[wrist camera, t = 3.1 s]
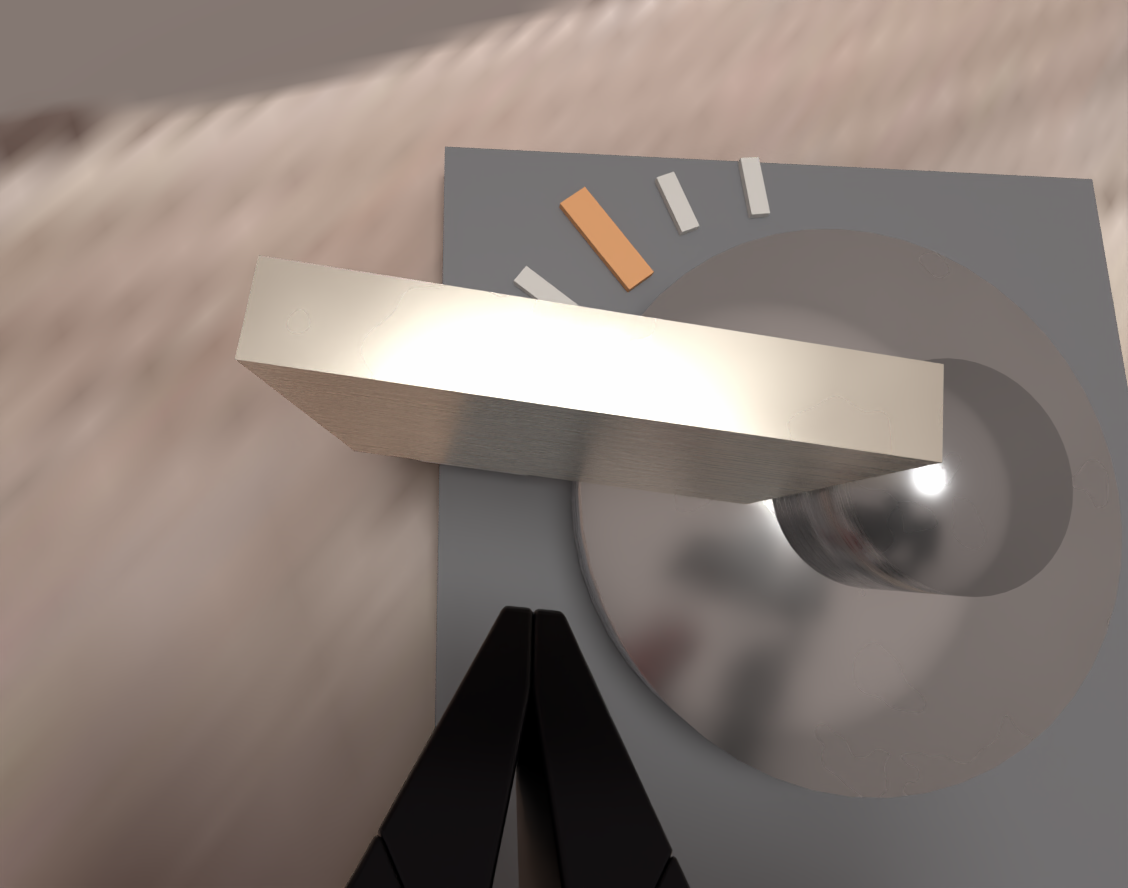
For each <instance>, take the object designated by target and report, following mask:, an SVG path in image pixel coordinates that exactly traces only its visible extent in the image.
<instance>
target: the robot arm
mask: <svg viewBox="0 0 1128 888" xmlns="http://www.w3.org/2000/svg"><path fill="white" fill-rule="evenodd" d="M515 771H516V808H517V842H518V875H519V888H690V886H689V884H688V881H687V879H686V877H685V875H684V873H683V870H682V868H681V866H680V864H679V862H678V860H677V858H676V857H675V856H672V857H671V855H672V853H673V850H672V847H671V845H670V843H669V841H668V838H667V836H666V834H665V832H664V830H663V828H662V825H661V823H660V821H659V819H658V817H657V814H656V812H655V810H654V808H653V806H652V804H651V801H650V799H649V797H648V795H647V793H646V790H645V788H644V786H643V784H642V782H641V780H640V777H639V775H638V773H637V771H636V769H635V767H634V764H633V762H632V760H631V758H630V756H629V753H628V751H627V749H626V747H625V745H624V743H623V740H622V738H621V736H620V734H619V732H618V729H617V727H616V725H615V723H614V721H613V719H612V716H611V714H610V712H609V710H608V708H607V706H606V703H605V701H604V699H603V697H602V695H601V692H600V690H599V688H598V686H597V684H596V682H595V679H594V677H593V675H592V673H591V671H590V668H589V666H588V664H587V662H586V660H585V658H584V655H583V653H582V651H581V649H580V647H579V645H578V642H577V640H576V638H575V636H574V634H573V631H572V629H571V627H570V625H569V623H568V621H567V618H566V617H565V615H564V614H563V613H562V612H561V611H556V610H546V609H536V610H535V611H534V612H532V610H531V609H530V608H527V607H517V606H505V607H504V608H503V609H502V610H501V611H500V613H499V615H498V617H497V618H496V620H495V622H494V624H493V626H492V627H491V629H490V631H489V633H488V635H487V636H486V638H485V640H484V642H483V644H482V645H481V647H480V649H479V651H478V653H477V654H476V656H475V658H474V660H473V661H472V663H471V665H470V667H469V669H468V670H467V672H466V674H465V676H464V678H463V679H462V681H461V683H460V685H459V687H458V688H457V690H456V692H455V694H454V695H453V697H452V699H451V701H450V703H449V704H448V706H447V708H446V710H445V712H444V713H443V715H442V717H441V719H440V721H439V722H438V724H437V726H436V728H435V729H434V731H433V733H432V735H431V737H430V738H429V740H428V742H427V744H426V746H425V747H424V749H423V751H422V753H421V755H420V756H419V758H418V760H417V762H416V763H415V765H414V767H413V769H412V771H411V772H410V774H409V776H408V778H407V780H406V781H405V783H404V785H403V787H402V789H401V790H400V792H399V794H398V796H397V797H396V799H395V801H394V803H393V805H392V806H391V808H390V810H389V812H388V814H387V815H386V817H385V819H384V821H383V823H382V824H381V826H380V828H379V830H378V835H377V836H375V837H374V838H373V840H372V841H371V843H370V845H369V847H368V849H367V850H366V852H365V854H364V856H363V858H362V859H361V861H360V863H359V865H358V866H357V868H356V870H355V872H354V873H353V875H352V877H351V878H350V880H349V882H348V883H347V885H346V887H345V888H492V887H493V882H494V877H495V872H496V867H497V862H498V857H499V852H500V847H501V841H502V836H503V831H504V826H505V821H506V816H507V811H508V806H509V801H510V796H511V791H512V786H513V781H514V776H515ZM670 857H671V858H670Z"/></svg>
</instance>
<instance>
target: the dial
mask: <svg viewBox="0 0 1128 888" xmlns="http://www.w3.org/2000/svg"><path fill="white" fill-rule="evenodd" d="M235 360H237V361H238V362H239V363H241V364H242V365H243V366H244V367H246V368H247V369H248V370H250V371H251V372H252V373H254V374H255V375H256V376H257V377H259V378H260V379H261V380H263V381H264V382H265V383H267V384H268V385H269V386H270V387H272V388H273V389H274V390H276V391H277V392H278V393H280V394H281V395H282V396H284V397H285V398H286V399H287V400H289V401H290V402H291V403H293V404H294V405H295V406H297V407H298V408H299V409H300V410H302V411H303V412H304V413H306V414H307V415H308V416H310V417H311V418H312V419H313V420H315V421H316V422H317V423H319V424H320V425H321V426H323V427H324V428H325V429H326V430H328V431H329V432H330V433H332V434H333V435H334V436H336V437H337V438H338V439H339V440H341V441H342V442H343V443H345V444H346V445H347V446H349V447H350V448H351V449H352V450H354V451H358V452H366V453H373V454H380V455H388V456H395V457H402V458H410V459H417V460H424V461H432V462H439V463H446V464H454V465H461V466H468V467H475V468H483V469H490V470H497V471H505V472H512V473H519V474H527V475H534V476H541V477H549V478H556V479H563V480H571V481H572V485H571V510H572V523H573V535H574V539H575V544H576V549H577V554H578V559H579V564H580V568H581V571H582V574H583V577H584V580H585V583H586V586H587V589H588V592H589V595H590V597H591V600H592V603H593V605H594V607H595V609H596V611H597V613H598V615H599V617H600V619H601V621H602V623H603V625H604V627H605V629H606V631H607V633H608V635H609V636H610V638H611V639H612V641H613V642H614V644H615V645H616V647H617V648H618V650H619V651H620V653H621V654H622V656H623V657H624V659H625V660H626V662H627V663H628V665H629V666H630V667H631V668H632V669H633V671H634V672H635V673H636V674H637V675H638V676H639V677H640V679H641V680H642V681H643V682H644V683H645V684H646V685H647V687H648V688H649V689H650V690H651V691H652V692H653V693H654V694H655V695H656V696H657V697H659V698H660V699H661V700H662V701H663V702H664V703H665V704H666V705H668V706H669V707H670V708H671V709H672V710H673V711H674V712H675V713H677V714H678V715H679V716H680V717H681V718H682V719H684V720H685V721H686V722H687V723H688V724H689V725H691V726H692V727H693V728H694V729H695V730H696V731H698V732H699V733H700V734H701V735H702V736H704V737H705V738H706V739H708V740H709V741H711V742H712V743H714V744H715V745H717V746H718V747H720V748H721V749H723V750H724V751H726V752H727V753H729V754H730V755H732V756H733V757H735V758H736V759H737V760H739V761H741V762H743V763H745V764H747V765H749V766H751V767H753V768H755V769H758V770H760V771H762V772H764V773H766V774H768V775H770V776H772V777H774V778H777V779H780V780H783V781H786V782H789V783H792V784H795V785H798V786H801V787H804V788H807V789H810V790H814V791H820V792H826V793H831V794H837V795H843V796H848V797H875V798H892V797H900V796H908V795H916V794H924V793H928V792H932V791H935V790H939V789H942V788H946V787H950V786H953V785H957V784H960V783H963V782H965V781H967V780H969V779H971V778H974V777H976V776H978V775H980V774H982V773H985V772H987V771H989V770H991V769H993V768H995V767H997V766H998V765H1000V764H1001V763H1003V762H1004V761H1006V760H1007V759H1009V758H1010V757H1012V756H1013V755H1015V754H1016V753H1018V752H1019V751H1021V750H1022V749H1024V748H1025V747H1026V746H1027V745H1029V744H1030V743H1031V742H1032V741H1033V740H1034V739H1035V738H1036V737H1037V736H1039V735H1040V734H1041V733H1042V732H1043V731H1044V730H1045V729H1046V728H1047V727H1049V726H1050V725H1051V724H1052V722H1053V721H1054V720H1055V719H1056V718H1057V716H1058V715H1059V714H1060V713H1061V712H1062V710H1063V709H1064V708H1065V707H1066V705H1067V704H1068V703H1069V702H1070V701H1071V699H1072V698H1073V697H1074V695H1075V694H1076V692H1077V690H1078V689H1079V687H1080V686H1081V684H1082V682H1083V681H1084V679H1085V677H1086V676H1087V674H1088V672H1089V671H1090V669H1091V667H1092V666H1093V663H1094V661H1095V659H1096V656H1097V654H1098V652H1099V649H1100V647H1101V645H1102V642H1103V640H1104V638H1105V635H1106V633H1107V629H1108V626H1109V622H1110V619H1111V615H1112V612H1113V608H1114V604H1115V601H1116V595H1117V589H1118V582H1119V575H1120V568H1121V548H1122V524H1121V513H1120V503H1119V493H1118V488H1117V483H1116V479H1115V474H1114V469H1113V465H1112V460H1111V456H1110V453H1109V450H1108V447H1107V444H1106V442H1105V439H1104V436H1103V433H1102V430H1101V427H1100V424H1099V422H1098V419H1097V417H1096V415H1095V413H1094V411H1093V409H1092V407H1091V404H1090V402H1089V400H1088V398H1087V396H1086V394H1085V392H1084V390H1083V388H1082V387H1081V385H1080V383H1079V382H1078V380H1077V378H1076V377H1075V375H1074V373H1073V372H1072V370H1071V369H1070V367H1069V365H1068V364H1067V362H1066V361H1065V359H1064V358H1063V357H1062V355H1061V354H1060V353H1059V351H1058V350H1057V349H1056V348H1055V346H1054V345H1053V344H1052V342H1051V341H1050V340H1049V338H1048V337H1047V336H1046V335H1045V333H1044V332H1043V331H1042V330H1041V329H1040V328H1039V327H1038V326H1037V325H1036V324H1035V323H1034V322H1033V321H1032V320H1031V319H1030V318H1029V317H1028V316H1027V314H1026V313H1025V312H1024V311H1023V310H1022V309H1021V308H1020V307H1018V306H1017V305H1016V304H1015V303H1014V302H1012V301H1011V300H1010V299H1009V298H1008V297H1006V296H1005V295H1004V294H1003V293H1002V292H1000V291H999V290H998V289H997V288H996V287H994V286H993V285H992V284H990V283H989V282H987V281H985V280H984V279H982V278H981V277H979V276H978V275H976V274H975V273H973V272H972V271H970V270H969V269H967V268H966V267H964V266H962V265H960V264H958V263H956V262H954V261H952V260H950V259H948V258H946V257H944V256H942V255H940V254H938V253H936V252H934V251H931V250H929V249H926V248H923V247H921V246H918V245H915V244H912V243H910V242H907V241H904V240H900V239H896V238H892V237H888V236H884V235H879V234H875V233H870V232H861V231H852V230H843V229H812V230H800V231H794V232H787V233H780V234H774V235H770V236H767V237H763V238H760V239H756V240H753V241H749V242H746V243H743V244H740V245H738V246H736V247H734V248H731V249H729V250H727V251H725V252H722V253H720V254H718V255H716V256H713V257H712V258H710V259H708V260H707V261H705V262H704V263H702V264H700V265H699V266H697V267H695V268H694V269H692V270H691V271H689V272H687V273H686V274H684V275H683V276H682V277H681V278H680V279H678V280H677V281H676V282H675V283H674V284H672V285H671V286H670V287H669V288H668V289H666V290H665V291H664V292H663V293H662V294H660V295H659V296H658V297H657V299H656V300H655V301H654V302H653V303H652V304H651V305H650V306H649V307H648V309H647V310H646V311H645V312H644V313H643V314H642V315H641V316H638V315H632V314H625V313H619V312H613V311H606V310H600V309H594V308H588V307H581V306H575V305H569V304H562V303H556V302H550V301H544V300H537V299H531V298H525V297H518V296H512V295H506V294H500V293H493V292H487V291H481V290H474V289H468V288H462V287H456V286H449V285H443V284H437V283H430V282H424V281H418V280H411V279H405V278H399V277H393V276H386V275H380V274H374V273H367V272H361V271H355V270H349V269H342V268H336V267H330V266H323V265H317V264H311V263H305V262H298V261H292V260H286V259H279V258H273V257H267V256H261V255H259V256H258V260H257V265H256V269H255V274H254V278H253V282H252V287H251V291H250V295H249V300H248V304H247V309H246V313H245V317H244V322H243V326H242V331H241V335H240V339H239V344H238V348H237V353H236V357H235Z"/></svg>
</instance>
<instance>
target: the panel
mask: <svg viewBox="0 0 1128 888" xmlns="http://www.w3.org/2000/svg"><path fill="white" fill-rule="evenodd" d="M812 229H843V230H852V231H861V232H870V233H875V234H879V235H884V236H888V237H892V238H896V239H900V240H904V241H907V242H910V243H912V244H915V245H918V246H921V247H923V248H926V249H929V250H931V251H934V252H936V253H938V254H940V255H942V256H944V257H946V258H948V259H950V260H952V261H954V262H956V263H958V264H960V265H962V266H964V267H966V268H967V269H969V270H970V271H972V272H973V273H975V274H976V275H978V276H979V277H981V278H982V279H984V280H985V281H987V282H989V283H990V284H992V285H993V286H994V287H996V288H997V289H998V290H999V291H1000V292H1002V293H1003V294H1004V295H1005V296H1006V297H1008V298H1009V299H1010V300H1011V301H1012V302H1014V303H1015V304H1016V305H1017V306H1018V307H1020V308H1021V309H1022V310H1023V311H1024V312H1025V313H1026V314H1027V316H1028V317H1029V318H1030V319H1031V320H1032V321H1033V322H1034V323H1035V324H1036V325H1037V326H1038V327H1039V328H1040V329H1041V330H1042V331H1043V332H1044V333H1045V335H1046V336H1047V337H1048V338H1049V340H1050V341H1051V342H1052V344H1053V345H1054V346H1055V348H1056V349H1057V350H1058V351H1059V353H1060V354H1061V355H1062V357H1063V358H1064V359H1065V361H1066V362H1067V364H1068V365H1069V367H1070V369H1071V370H1072V372H1073V373H1074V375H1075V377H1076V378H1077V380H1078V382H1079V383H1080V385H1081V387H1082V388H1083V390H1084V392H1085V394H1086V396H1087V398H1088V400H1089V402H1090V404H1091V407H1092V409H1093V411H1094V413H1095V415H1096V417H1097V419H1098V422H1099V424H1100V427H1101V430H1102V433H1103V436H1104V439H1105V442H1106V444H1107V447H1108V450H1109V453H1110V456H1111V460H1112V465H1113V469H1114V474H1115V479H1116V483H1117V488H1118V493H1119V503H1120V513H1121V524H1122V548H1121V568H1120V575H1119V582H1118V589H1117V595H1116V601H1115V604H1114V608H1113V612H1112V615H1111V619H1110V622H1109V626H1108V629H1107V633H1106V635H1105V638H1104V640H1103V642H1102V645H1101V647H1100V649H1099V652H1098V654H1097V656H1096V659H1095V661H1094V663H1093V666H1092V667H1091V669H1090V671H1089V672H1088V674H1087V676H1086V677H1085V679H1084V681H1083V682H1082V684H1081V686H1080V687H1079V689H1078V690H1077V692H1076V694H1075V695H1074V697H1073V698H1072V699H1071V701H1070V702H1069V703H1068V704H1067V705H1066V707H1065V708H1064V709H1063V710H1062V712H1061V713H1060V714H1059V715H1058V716H1057V718H1056V719H1055V720H1054V721H1053V722H1052V724H1051V725H1050V726H1049V727H1047V728H1046V729H1045V730H1044V731H1043V732H1042V733H1041V734H1040V735H1039V736H1037V737H1036V738H1035V739H1034V740H1033V741H1032V742H1031V743H1030V744H1029V745H1027V746H1026V747H1025V748H1024V749H1022V750H1021V751H1019V752H1018V753H1016V754H1015V755H1013V756H1012V757H1010V758H1009V759H1007V760H1006V761H1004V762H1003V763H1001V764H1000V765H998V766H997V767H995V768H993V769H991V770H989V771H987V772H985V773H982V774H980V775H978V776H976V777H974V778H971V779H969V780H967V781H965V782H963V783H960V784H957V785H953V786H950V787H946V788H942V789H939V790H935V791H932V792H928V793H924V794H916V795H908V796H900V797H892V798H875V797H848V796H843V795H837V794H831V793H826V792H820V791H814V790H810V789H807V788H804V787H801V786H798V785H795V784H792V783H789V782H786V781H783V780H780V779H777V778H774V777H772V776H770V775H768V774H766V773H764V772H762V771H760V770H758V769H755V768H753V767H751V766H749V765H747V764H745V763H743V762H741V761H739V760H737V759H736V758H735V757H733V756H732V755H730V754H729V753H727V752H726V751H724V750H723V749H721V748H720V747H718V746H717V745H715V744H714V743H712V742H711V741H709V740H708V739H706V738H705V737H704V736H702V735H701V734H700V733H699V732H698V731H696V730H695V729H694V728H693V727H692V726H691V725H689V724H688V723H687V722H686V721H685V720H684V719H682V718H681V717H680V716H679V715H678V714H677V713H675V712H674V711H673V710H672V709H671V708H670V707H669V706H668V705H666V704H665V703H664V702H663V701H662V700H661V699H660V698H659V697H657V696H656V695H655V694H654V693H653V692H652V691H651V690H650V689H649V688H648V687H647V685H646V684H645V683H644V682H643V681H642V680H641V679H640V677H639V676H638V675H637V674H636V673H635V672H634V671H633V669H632V668H631V667H630V666H629V665H628V663H627V662H626V660H625V659H624V657H623V656H622V654H621V653H620V651H619V650H618V648H617V647H616V645H615V644H614V642H613V641H612V639H611V638H610V636H609V635H608V633H607V631H606V629H605V627H604V625H603V623H602V621H601V619H600V617H599V615H598V613H597V611H596V609H595V607H594V605H593V603H592V600H591V597H590V595H589V592H588V589H587V586H586V583H585V580H584V577H583V574H582V571H581V568H580V564H579V559H578V554H577V549H576V544H575V539H574V535H573V523H572V510H571V485H572V481H571V480H563V479H556V478H549V477H541V476H534V475H527V474H519V473H512V472H505V471H497V470H490V469H483V468H475V467H468V466H461V465H454V464H446V463H439V462H432V461H424V460H419V461H423V462H430V463H437V464H440V469H439V527H438V585H437V644H436V702H435V728H436V726H437V724H438V722H439V721H440V719H441V717H442V715H443V713H444V712H445V710H446V708H447V706H448V704H449V703H450V701H451V699H452V697H453V695H454V694H455V692H456V690H457V688H458V687H459V685H460V683H461V681H462V679H463V678H464V676H465V674H466V672H467V670H468V669H469V667H470V665H471V663H472V661H473V660H474V658H475V656H476V654H477V653H478V651H479V649H480V647H481V645H482V644H483V642H484V640H485V638H486V636H487V635H488V633H489V631H490V629H491V627H492V626H493V624H494V622H495V620H496V618H497V617H498V615H499V613H500V611H501V610H502V609H503V608H504V607H505V606H517V607H527V608H530V609H531V610H532V612H534V611H535V610H536V609H546V610H556V611H561V612H562V613H563V614H564V615H565V617H566V618H567V621H568V623H569V625H570V627H571V629H572V631H573V634H574V636H575V638H576V640H577V642H578V645H579V647H580V649H581V651H582V653H583V655H584V658H585V660H586V662H587V664H588V666H589V668H590V671H591V673H592V675H593V677H594V679H595V682H596V684H597V686H598V688H599V690H600V692H601V695H602V697H603V699H604V701H605V703H606V706H607V708H608V710H609V712H610V714H611V716H612V719H613V721H614V723H615V725H616V727H617V729H618V732H619V734H620V736H621V738H622V740H623V743H624V745H625V747H626V749H627V751H628V753H629V756H630V758H631V760H632V762H633V764H634V767H635V769H636V771H637V773H638V775H639V777H640V780H641V782H642V784H643V786H644V788H645V790H646V793H647V795H648V797H649V799H650V801H651V804H652V806H653V808H654V810H655V812H656V814H657V817H658V819H659V821H660V823H661V825H662V828H663V830H664V832H665V834H666V836H667V838H668V841H669V843H670V845H671V847H672V850H673V853H672V855H671V857H672V856H675V857H676V858H677V860H678V862H679V864H680V866H681V868H682V870H683V873H684V875H685V877H686V879H687V881H688V884H689V886H690V888H1128V387H1127V381H1126V375H1125V369H1124V363H1123V357H1122V352H1121V346H1120V340H1119V334H1118V328H1117V322H1116V316H1115V311H1114V305H1113V299H1112V293H1111V287H1110V281H1109V275H1108V270H1107V264H1106V258H1105V252H1104V246H1103V240H1102V234H1101V229H1100V223H1099V217H1098V211H1097V205H1096V199H1095V193H1094V188H1093V182H1092V179H1076V178H1056V177H1037V176H1017V175H997V174H977V173H957V172H937V171H917V170H897V169H878V168H858V167H838V166H818V165H798V164H778V163H760V161H759V157H751V158H740V160H739V162H738V161H719V160H699V159H679V158H659V157H639V156H619V155H599V154H580V153H560V152H540V151H520V150H500V149H480V148H460V147H445V176H444V235H443V285H449V286H456V287H462V288H468V289H474V290H481V291H487V292H493V293H500V294H506V295H512V296H518V297H525V298H531V299H537V300H544V301H550V302H556V303H562V304H569V305H575V306H581V307H588V308H594V309H600V310H606V311H613V312H619V313H625V314H632V315H638V316H641V315H642V314H643V313H644V312H645V311H646V310H647V309H648V307H649V306H650V305H651V304H652V303H653V302H654V301H655V300H656V299H657V297H658V296H659V295H660V294H662V293H663V292H664V291H665V290H666V289H668V288H669V287H670V286H671V285H672V284H674V283H675V282H676V281H677V280H678V279H680V278H681V277H682V276H683V275H684V274H686V273H687V272H689V271H691V270H692V269H694V268H695V267H697V266H699V265H700V264H702V263H704V262H705V261H707V260H708V259H710V258H712V257H713V256H716V255H718V254H720V253H722V252H725V251H727V250H729V249H731V248H734V247H736V246H738V245H740V244H743V243H746V242H749V241H753V240H756V239H760V238H763V237H767V236H770V235H774V234H780V233H787V232H794V231H800V230H812ZM671 857H670V858H671ZM492 888H519V875H518V842H517V808H516V771H515V776H514V781H513V786H512V791H511V796H510V801H509V806H508V811H507V816H506V821H505V826H504V831H503V836H502V841H501V847H500V852H499V857H498V862H497V867H496V872H495V877H494V882H493V887H492Z"/></svg>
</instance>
